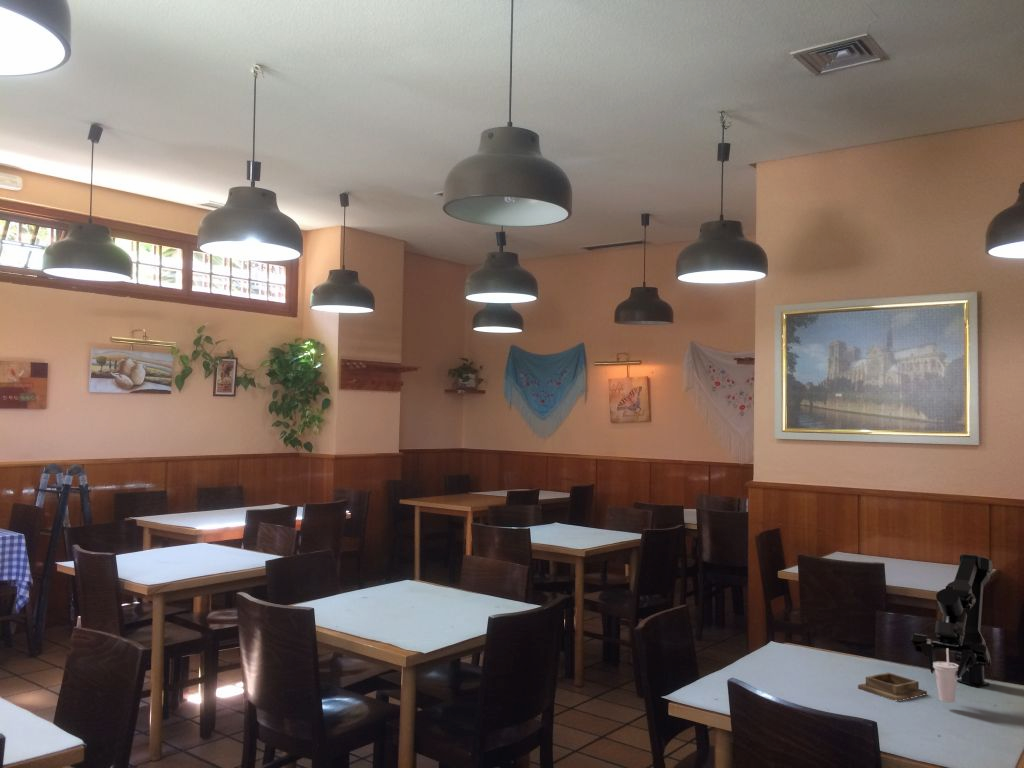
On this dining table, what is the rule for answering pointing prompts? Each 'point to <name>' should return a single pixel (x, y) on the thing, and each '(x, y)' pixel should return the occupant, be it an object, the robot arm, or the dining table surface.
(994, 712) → the dining table surface
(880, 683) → the bottle stand
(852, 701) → the dining table surface
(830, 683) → the dining table surface
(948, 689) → the smoothie
